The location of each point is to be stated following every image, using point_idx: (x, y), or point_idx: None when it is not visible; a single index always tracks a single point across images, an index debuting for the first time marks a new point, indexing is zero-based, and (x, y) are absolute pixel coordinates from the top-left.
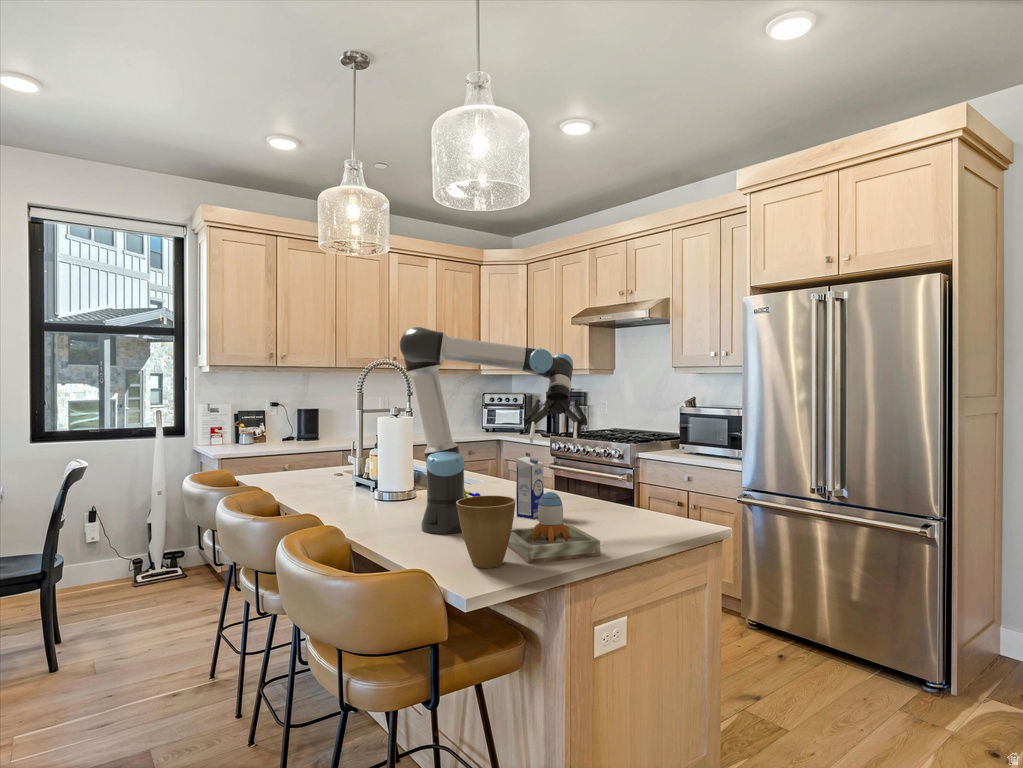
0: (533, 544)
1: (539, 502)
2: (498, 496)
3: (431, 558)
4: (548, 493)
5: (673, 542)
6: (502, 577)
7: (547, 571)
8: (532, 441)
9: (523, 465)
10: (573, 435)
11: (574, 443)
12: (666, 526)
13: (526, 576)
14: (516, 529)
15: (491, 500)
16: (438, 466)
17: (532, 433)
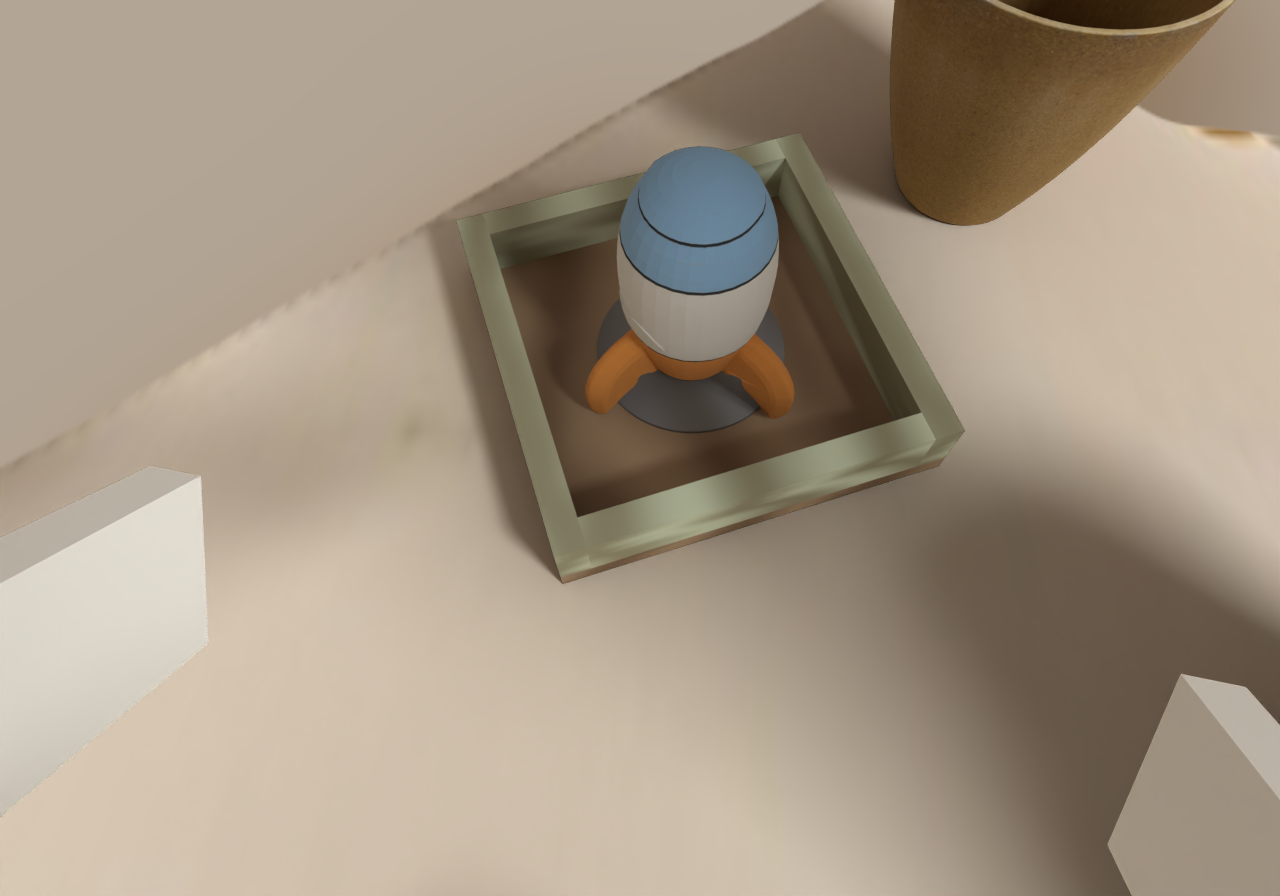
0: (778, 356)
1: (773, 207)
2: (1041, 19)
3: (1227, 248)
4: (716, 156)
5: (14, 474)
6: (870, 59)
7: (711, 107)
8: (1129, 799)
9: None
10: (150, 501)
11: (198, 636)
12: None
13: (786, 66)
14: (893, 433)
15: (1077, 51)
16: None
17: (1253, 785)
